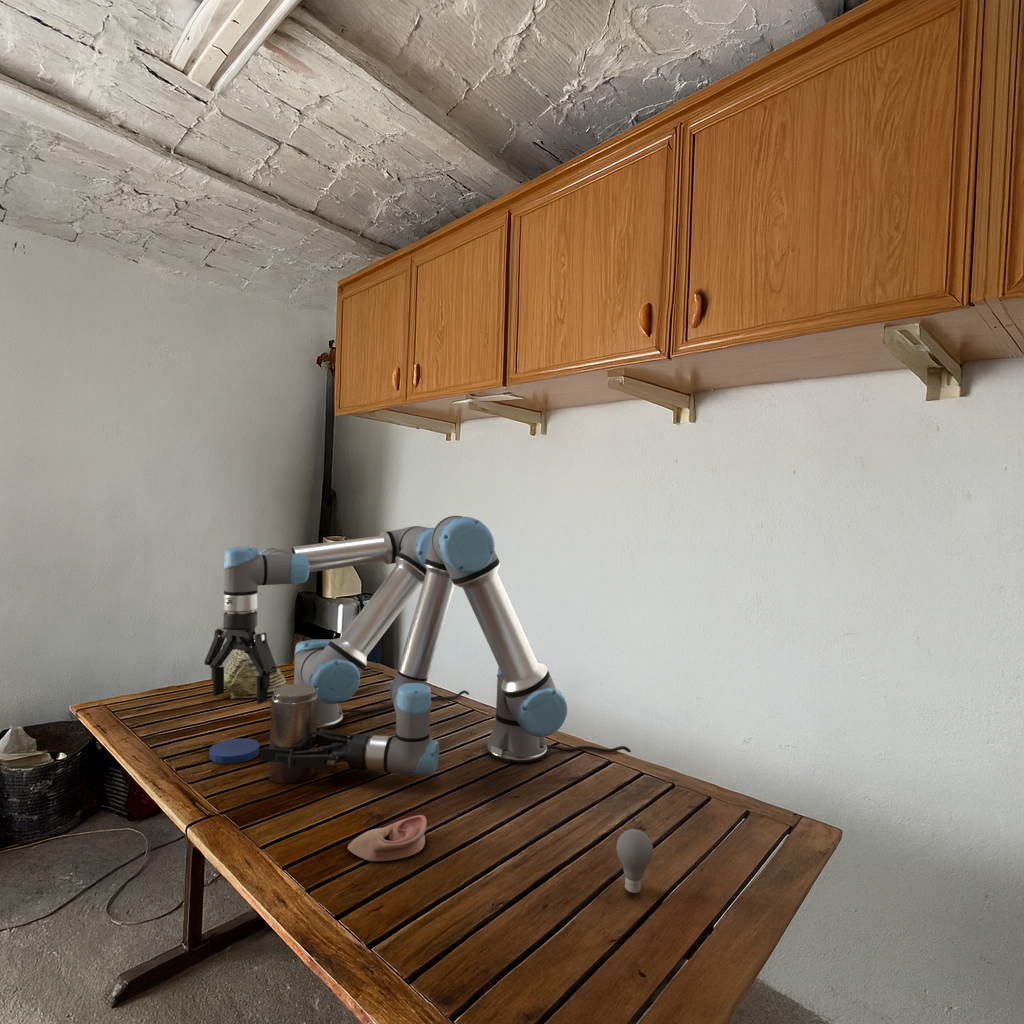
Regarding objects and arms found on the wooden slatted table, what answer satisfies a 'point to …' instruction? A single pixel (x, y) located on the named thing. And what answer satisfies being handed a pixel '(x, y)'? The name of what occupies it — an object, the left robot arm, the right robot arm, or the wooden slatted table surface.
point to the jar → (292, 728)
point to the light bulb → (634, 857)
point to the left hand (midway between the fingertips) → (239, 698)
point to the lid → (234, 750)
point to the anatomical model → (391, 840)
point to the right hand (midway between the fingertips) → (274, 744)
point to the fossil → (247, 677)
